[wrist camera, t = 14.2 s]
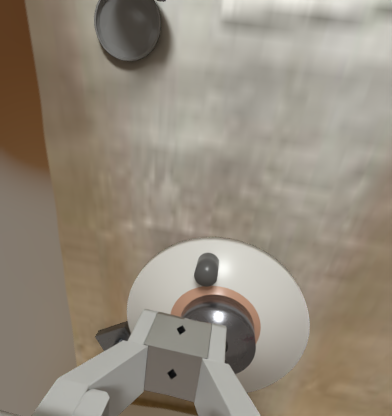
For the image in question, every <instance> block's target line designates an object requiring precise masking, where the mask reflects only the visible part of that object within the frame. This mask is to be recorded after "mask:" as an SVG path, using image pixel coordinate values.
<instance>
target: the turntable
mask: <svg viewBox="0 0 392 416" xmlns="http://www.w3.org/2000/svg"><path fill="white" fill-rule="evenodd" d="M205 295H223V296H227V297H230V298H232V299H234V300H236V301H238V302H239V303H241V304H242V305H243V306H244V307H245V308H246V309H247V310H248V312H249V313H250V315H251V317H252V319H253V323H254V331H255V342H256V351H255V356H254V358H253V360H252V362H251V363H250V365H249V366H248V367H247V368H246V369H244V370H243V371H241V372H239V373H237V374H235V375H236V376H237V378H238V380H239V381H240V383H241V385H242V386H243V388H244V389H245V391H246V393H248V392H253V391H257V390H259V389H262V388H265V387H267V386H269V385H271V384H273V383H275V382H277V381H278V380H279V379H281V378H282V377H284V376H285V375H286V374H287V373H288V372H289V371H291V370H292V368H293V367H294V366H295V365H296V364H297V362H298V361H299V359H300V358H301V356H302V354H303V352H304V350H305V348H306V345H307V341H308V337H309V328H310V321H309V313H308V309H307V306H306V302H305V299H304V297H303V294H302V292H301V290H300V288H299V285H298V284H297V282H296V281H295V279H294V278H293V276H292V275H291V273H290V272H289V271H288V270H287V269H286V268H285V267H284V266H283V265H282V264H281V263H280V262H279V261H278V260H277V259H275V258H274V257H273V256H271V255H270V254H268V253H267V252H265V251H263V250H261V249H259V248H257V247H255V246H253V245H251V244H248V243H245V242H242V241H238V240H234V239H230V238H221V237H201V238H194V239H189V240H185V241H182V242H179V243H176V244H174V245H171V246H169V247H167V248H166V249H164V250H162V251H161V252H159V253H158V254H157V255H155V256H154V257H153V258H152V259H151V260H150V261H149V262H148V263H147V264H146V265H145V266H144V268H143V269H142V271H141V272H140V274H139V275H138V277H137V278H136V280H135V282H134V284H133V286H132V288H131V291H130V294H129V298H128V304H127V319H128V325H129V329H130V332H131V333H132V331H133V329H134V327H135V325H136V323H137V321H138V319H139V317H140V315H141V313H142V311H143V310H144V309H149V310H153V311H157V312H163V313H167V314H171V315H175V316H179V317H181V314H182V311H183V310H184V308H185V307H186V305H187V304H189V303H190V302H191V301H192V300H194V299H196V298H198V297H201V296H205Z"/></svg>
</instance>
